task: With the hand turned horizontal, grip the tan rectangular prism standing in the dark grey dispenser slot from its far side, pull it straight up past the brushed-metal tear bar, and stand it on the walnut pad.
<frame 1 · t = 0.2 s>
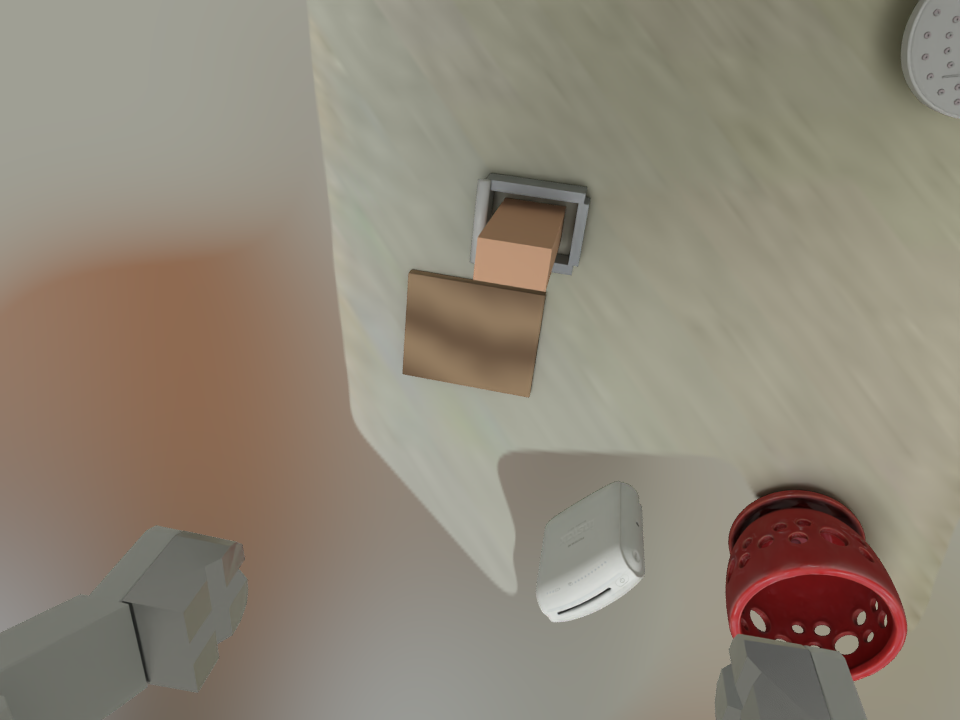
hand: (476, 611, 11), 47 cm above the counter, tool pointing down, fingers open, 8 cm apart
tan rectangular prism: (533, 220, 56), resting in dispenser
showerhead: (952, 29, 46), on the counter
plant pot: (786, 532, 65), on the counter
pad: (472, 332, 62), on the counter
photo printer: (593, 510, 68), on the counter
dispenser: (533, 220, 56), on the counter
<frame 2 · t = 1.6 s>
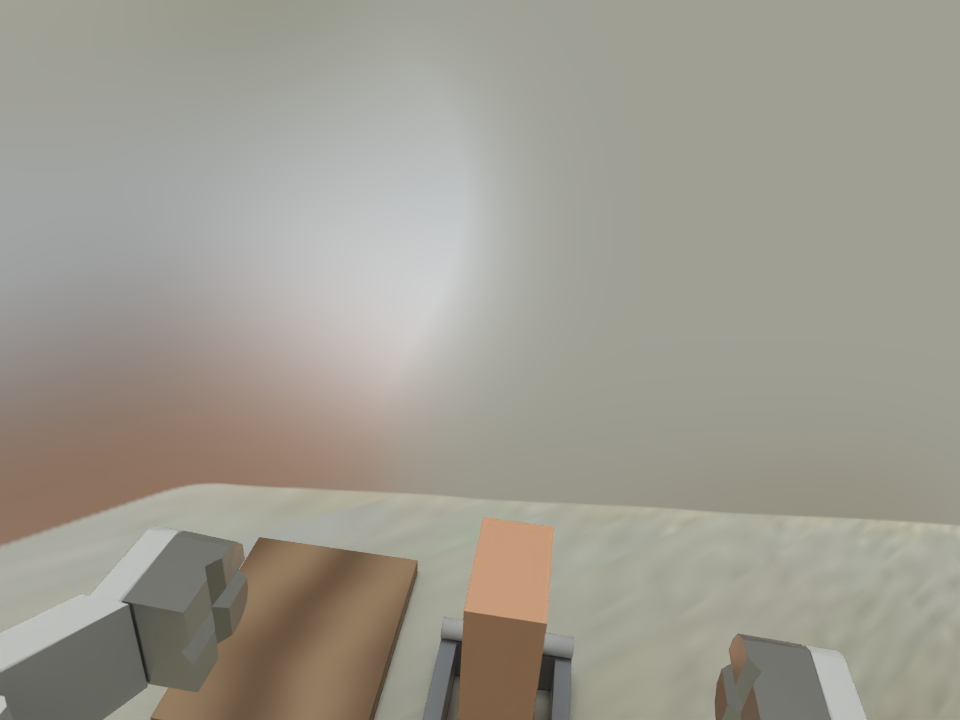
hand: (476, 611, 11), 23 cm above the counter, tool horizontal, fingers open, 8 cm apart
pad: (302, 641, 37), on the counter
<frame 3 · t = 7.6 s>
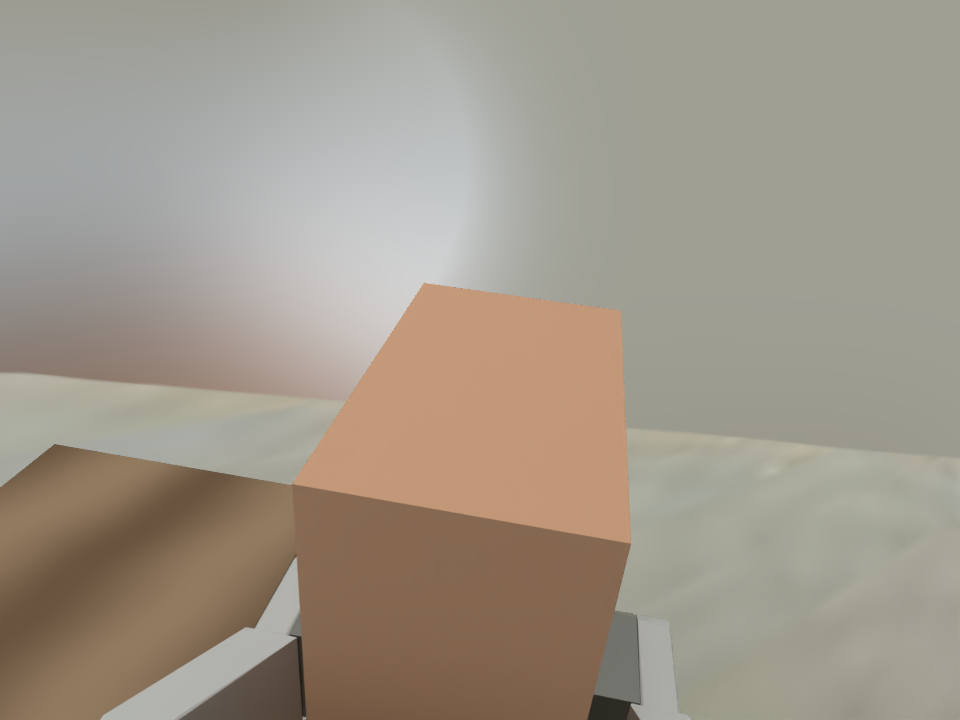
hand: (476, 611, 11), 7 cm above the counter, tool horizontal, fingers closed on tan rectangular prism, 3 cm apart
pad: (75, 629, 18), on the counter
when the fingers open (10 cm above the counter, at t = 12.2 s): tan rectangular prism drops 1 cm, resting on pad.
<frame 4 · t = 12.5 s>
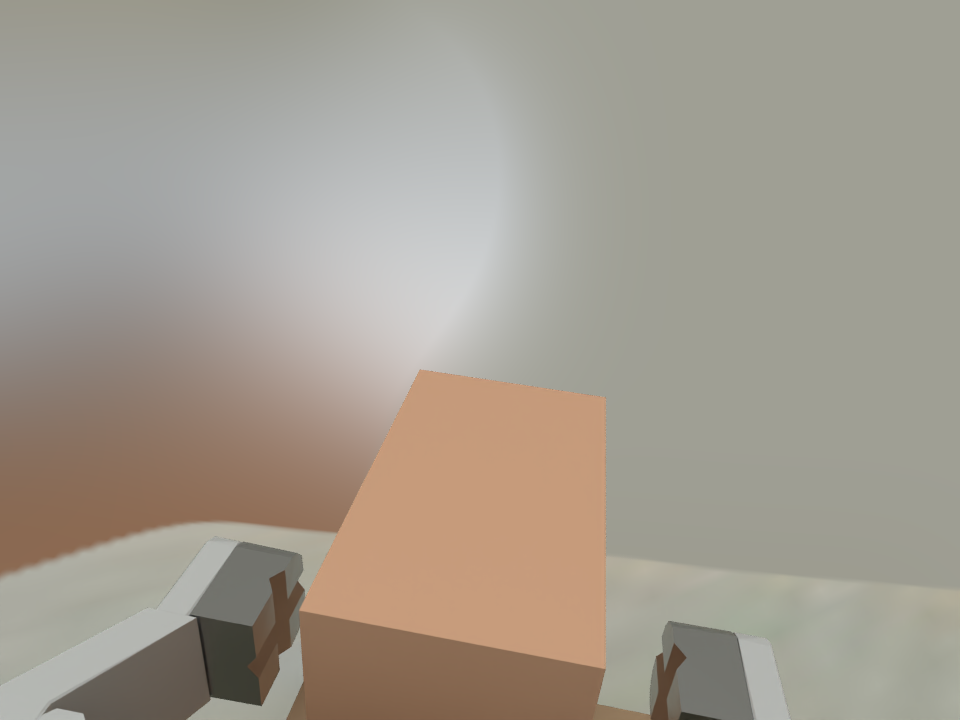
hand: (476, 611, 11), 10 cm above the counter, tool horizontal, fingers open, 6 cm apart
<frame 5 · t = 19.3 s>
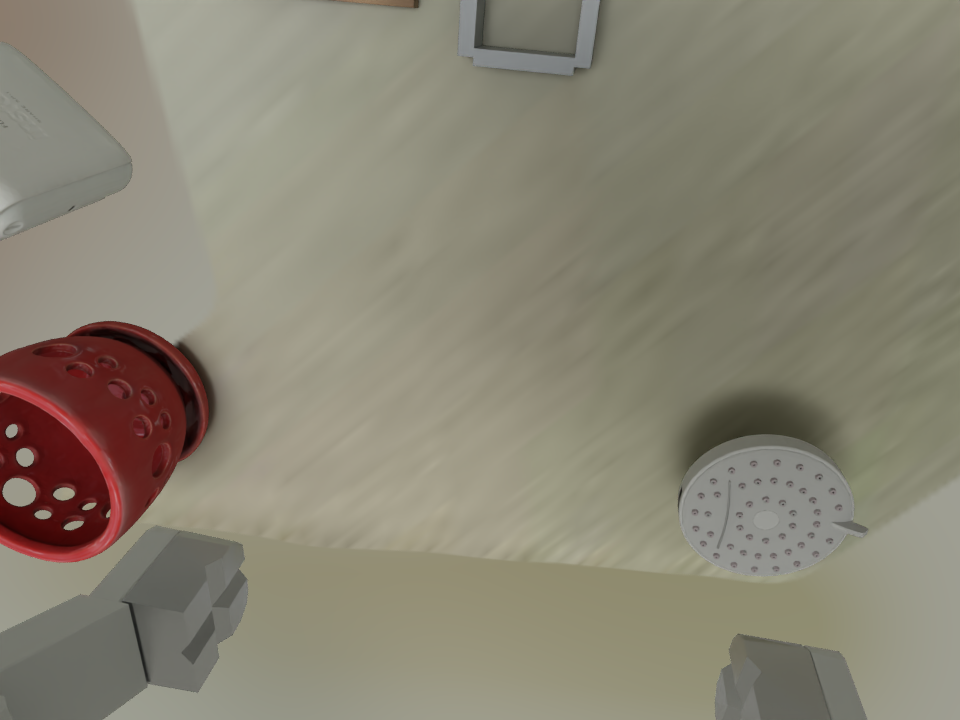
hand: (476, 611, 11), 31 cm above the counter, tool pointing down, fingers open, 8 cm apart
showerhead: (749, 451, 45), on the counter
plant pot: (142, 379, 50), on the counter
photo printer: (66, 121, 42), on the counter
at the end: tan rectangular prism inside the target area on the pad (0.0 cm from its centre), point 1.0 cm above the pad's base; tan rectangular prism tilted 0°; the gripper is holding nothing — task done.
